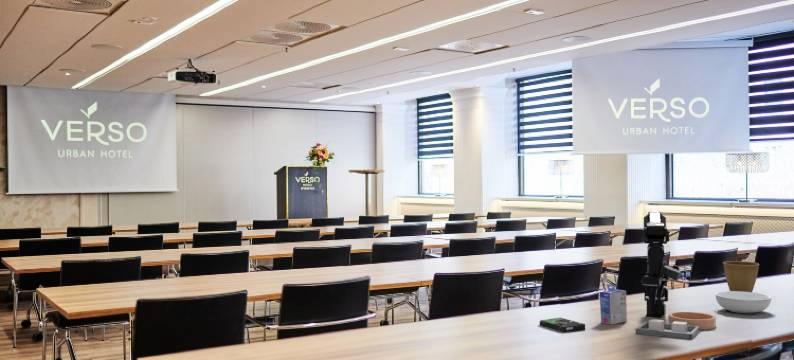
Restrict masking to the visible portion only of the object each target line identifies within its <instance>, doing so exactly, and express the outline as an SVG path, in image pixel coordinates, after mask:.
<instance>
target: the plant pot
mask: <svg viewBox="0 0 794 360" xmlns="http://www.w3.org/2000/svg"><path fill="white" fill-rule="evenodd" d="M722 263H723V270H724V276H725V279H726V283H727V286H728V291H741V292H753V291H754V288H755V285H756V282H757V278H758V273H759V268H760V267H759V266H760V264H759V263H757V262H752V261H744V260H743V261H739V260H736V261H735V260H729V261H727V260H726V261H723V262H722Z"/></svg>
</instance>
